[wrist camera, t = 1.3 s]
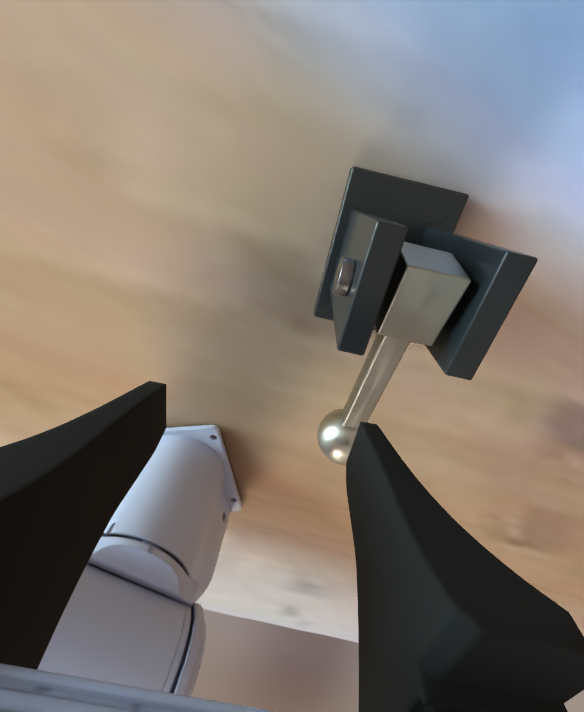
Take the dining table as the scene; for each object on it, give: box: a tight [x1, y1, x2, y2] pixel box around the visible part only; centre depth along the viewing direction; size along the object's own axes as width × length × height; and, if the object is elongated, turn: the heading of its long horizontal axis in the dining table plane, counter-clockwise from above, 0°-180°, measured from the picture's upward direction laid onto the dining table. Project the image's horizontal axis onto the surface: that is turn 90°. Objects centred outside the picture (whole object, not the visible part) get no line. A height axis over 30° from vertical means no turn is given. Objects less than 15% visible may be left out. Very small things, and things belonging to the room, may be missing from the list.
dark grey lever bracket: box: [314, 167, 538, 380], centre depth 15 cm, size 8×6×9 cm
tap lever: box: [317, 242, 471, 465], centre depth 15 cm, size 12×3×3 cm, turn 168°
